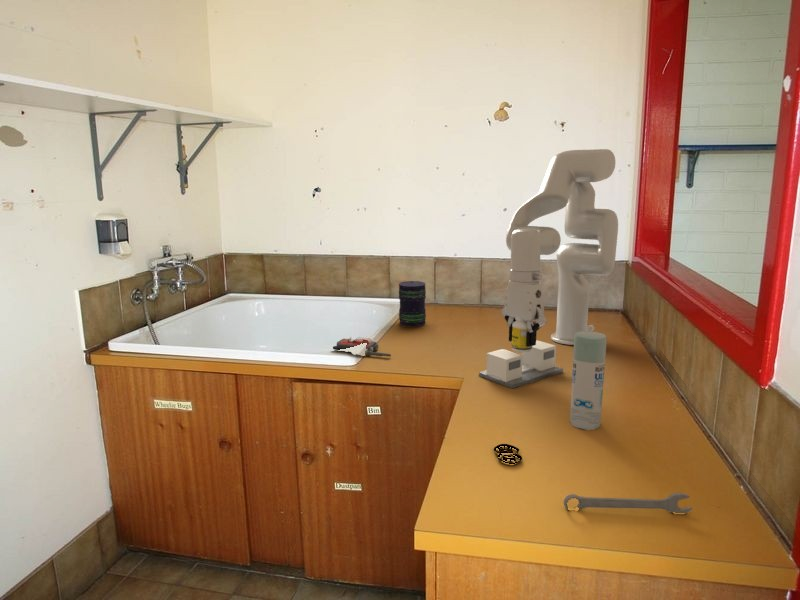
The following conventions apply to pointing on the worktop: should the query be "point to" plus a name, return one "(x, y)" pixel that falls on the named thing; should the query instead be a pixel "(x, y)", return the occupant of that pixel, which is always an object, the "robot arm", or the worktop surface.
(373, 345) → the red white elongated piece
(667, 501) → the combination wrench
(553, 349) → the mounted modules
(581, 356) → the spray paint can
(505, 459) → the corroded twin loop
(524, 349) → the supplement bottle
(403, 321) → the storage jar
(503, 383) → the rail plate
